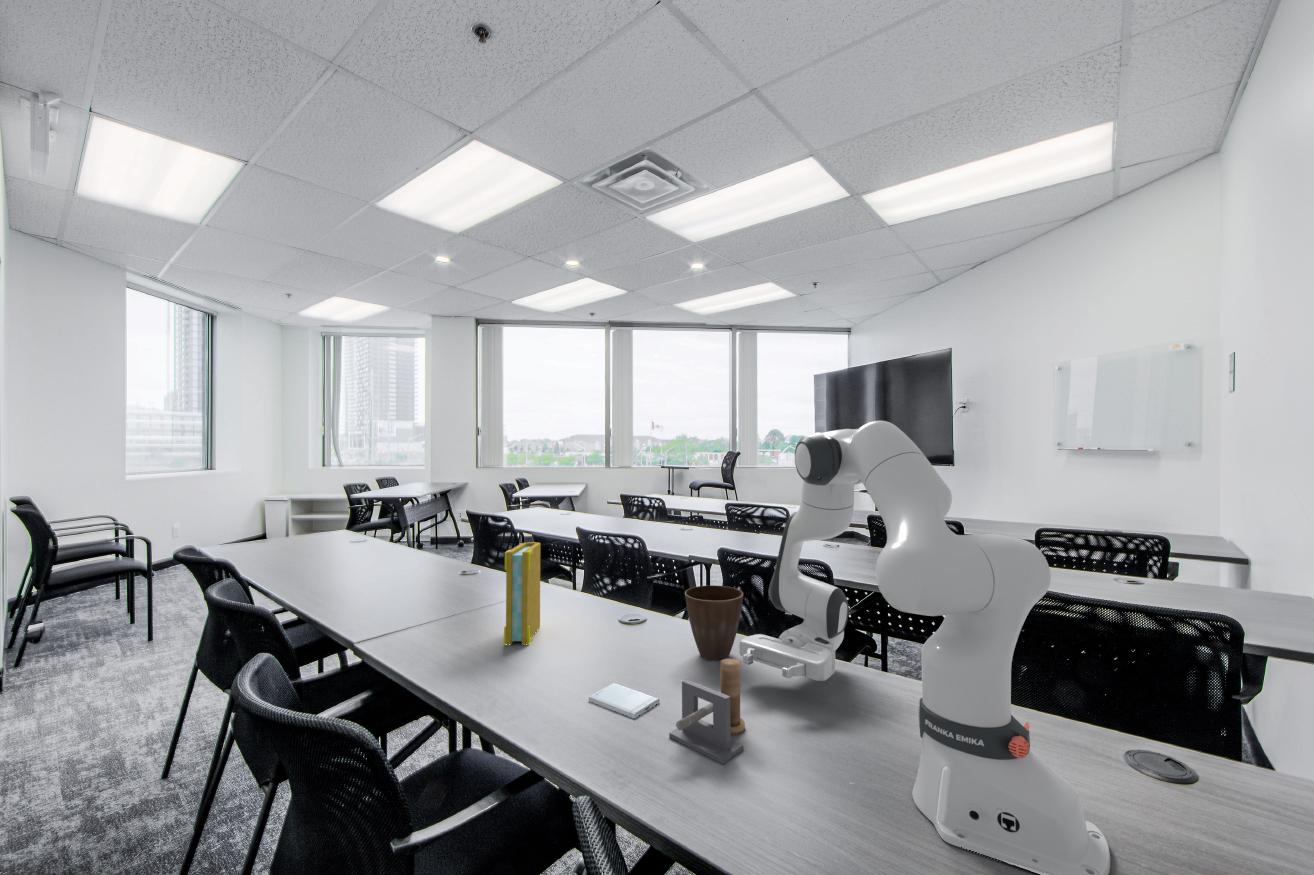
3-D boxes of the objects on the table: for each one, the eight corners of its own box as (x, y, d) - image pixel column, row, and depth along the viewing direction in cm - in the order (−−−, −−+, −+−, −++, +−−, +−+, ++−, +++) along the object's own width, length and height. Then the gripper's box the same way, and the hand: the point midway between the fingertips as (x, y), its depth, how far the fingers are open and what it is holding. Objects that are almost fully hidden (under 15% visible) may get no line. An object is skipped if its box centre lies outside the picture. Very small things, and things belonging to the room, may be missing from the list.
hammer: (750, 727, 97) (749, 662, 98) (691, 766, 85) (690, 691, 85) (727, 717, 101) (727, 654, 101) (668, 753, 89) (667, 682, 89)
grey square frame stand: (743, 749, 90) (743, 693, 90) (722, 764, 85) (722, 705, 86) (690, 724, 98) (690, 673, 98) (669, 737, 94) (669, 683, 94)
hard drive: (588, 695, 108) (634, 713, 100) (614, 682, 114) (659, 697, 107) (588, 704, 108) (634, 721, 100) (614, 689, 114) (659, 705, 107)
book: (528, 645, 140) (529, 552, 141) (504, 645, 140) (504, 552, 141) (543, 625, 157) (543, 542, 158) (521, 625, 157) (521, 542, 158)
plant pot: (738, 670, 123) (737, 602, 124) (678, 662, 128) (677, 597, 128) (748, 648, 137) (747, 587, 138) (693, 642, 142) (693, 583, 143)
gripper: (758, 623, 124) (723, 638, 114) (841, 645, 109) (810, 665, 99) (758, 650, 123) (723, 667, 114) (841, 676, 109) (810, 698, 99)
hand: (764, 666), depth 106 cm, fingers open, 8 cm apart
